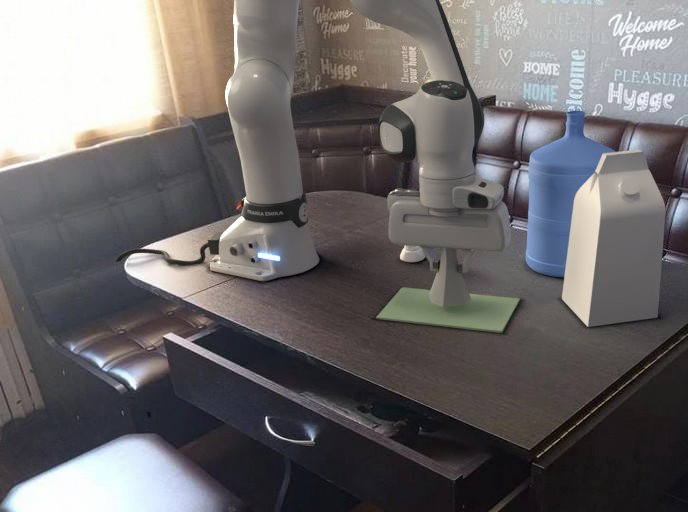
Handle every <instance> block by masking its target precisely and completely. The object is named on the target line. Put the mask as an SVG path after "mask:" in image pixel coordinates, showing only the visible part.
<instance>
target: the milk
mask: <svg viewBox="0 0 688 512" xmlns="http://www.w3.org/2000/svg"><path fill="white" fill-rule="evenodd" d="M665 224H666V203H665V201H664V197H663V195H662V194H661V192H660V189H659V187H658V185H657V182H656V181H655V179H654V177H653V174H652V173H651V170H650V169H649V165H648V162H647V159H646V156H645V154H644V151H643V150H641V149H633V150H632V149H631V150H623V151H615V152H612V153H603V154H602V157H601V159H600V161H599V164H598V166H597V168H596V170H595V173H594V174H593V175H592V176H591V177H590V178H589V179H588V180H587V181H586V182H585V183H584V184H583V185H582V187H581V188H580V189H579V190H578V192H577V193H576V195H575V198H574V205H573V213H572V221H571V229H570V237H569V245H568V253H567V261H566V269H565V277H564V278H563V285H562V294H561V300H562V301H563V302H564V303H565V304H566V305H567V306H568V307H569V309H570V310H571V311H572V312H573V313H574V314H575V315H576V316H577V317H578V318H579V319H580V321H581V322H582V323H583V324H585V326H586V327H587V328H592V327H598V326H605V325H612V324H620V323H627V322H634V321H642V320H649V319H656V318H658V317H659V305H660V292H661V277H662V266H663V265H662V264H663V263H662V262H663V254H664V253H663V252H664V251H663V250H664V240H665V239H664V238H665Z"/></svg>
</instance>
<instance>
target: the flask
mask: <svg viewBox="0 0 688 512" xmlns="http://www.w3.org/2000/svg"><path fill="white" fill-rule="evenodd" d="M439 250H440V257H439V258H440V264H439V271H436V274H435V277H434V280H433V283H432V285H431V288H430V290H431V291H430V294H429V298H430V301H431V303H434V304H436V305H439V306H441V307H450V306H459V305H462V304H464V303H466V302H468V301H470V300H471V297H470V295H469V294H470V292H469V290H468V287H467V285H466V282H465V280H464V277H463V275H462V274H463V273H458V272H457V269H458V268H457V263H458V262H459V260H458V255H457V254H458V252H457V251H458V249H456V248H442V247H439Z"/></svg>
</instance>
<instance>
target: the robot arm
mask: <svg viewBox="0 0 688 512" xmlns="http://www.w3.org/2000/svg"><path fill="white" fill-rule="evenodd" d="M349 2H350V4H351V6H352V8H354V9H355V10H356V11H357V12H358V13H359V14H360V15H362V16H363V17H364V18H366V19H368V20H370V21H372V22H374V23H376V24H379V25H385V26H387V27H389V28H394V29H396V30H398V31H400V32H403V33H405V34H406V35H408V36H410V37H411V38H412V40H414V41H415V42H416V44H418V46H419V48H420V50H421V52H422V55H423V57H424V61H425V63H426V66H427V69H428V71H429V75H430V77H431V80H430V81H428V82H425V83H424V84H422V85H420V86H419V88H418V90H417V92H416V93H414V94H412V95H411V96H409V97H407V98H404V99H401V100H399V101H396V102H395V101H394V102H393V103H391V104H388V105H386V107H385V108H384V109H383V111H382V113H381V115H380V117H379V121H378V125H377V126H378V128H377V132H378V133H377V134H378V141H379V144H380V148H381V150H382V151H383V152H384V153H385V155H387V156H388V158H390V159H391V160H393V161H394V162H397V163H411V162H415V163H416V164H418V166H419V169H418V182H419V185H418V186H419V188H404V187H403V188H402V187H396V188H395V189H394V190H392V191H390V192H389V193H388V195H387V197H386V201H387V202H386V203H387V209H388V212H389V217H388V239H389V241H390V242H391V243H392V245H399V246H405V245H413V246H420V247H422V249H423V253H424V254H425V258H426V259H427V261H428V262H429V271H431V272H437V271H439V264H440V257H437V256H436V254H435V252H434V251H433V250H434V248H440V247H442V248H456V249H457V250H458V249H459V250H462V255H464V256H465V257H464V259H459V260H458V263H457V268H458V269H457V272H458V273H461V274H467V273H468V272H469V261H470V259H471V258H472V256H473V254H474V252H476V251H486V252H487V251H488V252H503V251H504V250H505V249H506V248H507V247H508V246H509V244H510V242H511V220H510V213H509V210H508V206H507V205H506V203H505V202H504V201H503V198H504V194H505V189H504V188H505V187H504V186H503V185H502V184H500V183H498V182H495V181H492V180H489V179H487V178H484V177H481V176H479V175H476V174H475V173H476V171H475V169H476V168H475V164H474V160H473V151H474V148H475V146H476V145H477V143H478V141H479V140H480V138H481V136H482V135H483V131H484V128H485V113H484V109H483V107H482V104H481V102H480V100H479V98H478V97H477V95H476V93H475V91H474V89H473V87H472V85H471V83H470V80H469V78H468V74H467V71H466V69H465V67H464V64H463V61H462V57H461V55H460V52H459V49H458V47H457V43H456V41H455V37H454V35H453V32H452V29H451V26H450V24H449V21H448V18H447V15H446V13H445V10H444V8H443V6H442V3H441V1H440V0H349ZM299 7H300V0H233V18H232V19H233V28H234V29H233V30H234V71H233V73H232V75H231V76H230V78H229V79H228V82H227V85H226V88H225V101H226V102H225V103H226V106H227V110H228V115H229V120H230V124H231V128H232V132H233V133H232V134H233V136H234V140H235V144H236V147H237V151H238V155H239V159H240V164H241V165H240V166H241V171H242V177H243V183H244V190H245V195H246V196H245V197H244V198H242V199H241V200H240V201H239V202H237V203H236V204H235V206H237V207H236V208H235V210H237V211H239V210H240V209H242V210H241V215H240V217H238V218H237V219H236V220H235V221H234V222H233V223H232V224H231V225H230V226H229V227H228V228H227V229H226V230H224V231H216V232H215V233H213V235H211V236H210V237H209V238H208V239H207V242H205V243H204V244H202V245H201V247H200V248H199V254H200V257H198V258H197V259H195V260H181V259H173V258H171V257H170V254H169V253H168V252H167V251H166V250H162V249H154V248H153V249H152V248H132V249H128V250H126V251H124V252H122V253H120V254H119V255H118V256H117V257H116V258H115V260H114V261H115V263H118V262H121V261H122V260H123V259H124V258H126V257H128V256H131V255H135V254H152V255H158V256H159V255H160V256H163V257H164V259H165V261H166V262H167V263H169V264H172V265H178V266H193V265H198V264H202V263H203V262H204V261H205V260H206V258H207V257H206V250H207V249H208V250H209V255H211V256H214V257H213V258H212V259H211V261H210V262H209V270H210V271H211V272H217V273H221V274H226V275H231V276H236V277H241V278H245V279H250V280H255V281H259V282H269V281H272V280H274V279H278V278H281V277H288V276H295V275H297V274H302V273H304V272H308V271H309V270H311V269H313V268H315V267H317V265H318V264H319V262H320V257H319V255H318V253H317V250H316V247H315V244H314V241H313V238H312V234H311V230H310V225H309V209H308V202H307V201H308V200H307V195H306V192H305V191H304V189H303V188H304V187H303V180H302V170H301V162H300V153H299V149H298V144H297V139H296V134H295V128H294V121H293V115H292V108H291V100H292V97H293V93H294V83H295V72H296V71H295V70H296V69H295V68H296V53H297V37H298V36H297V34H298V21H299V20H298V18H299ZM145 413H146V417H147V418H148V419H150V418H152V412H151V411H146V412H145Z"/></svg>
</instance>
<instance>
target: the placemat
mask: <svg viewBox="0 0 688 512" xmlns="http://www.w3.org/2000/svg"><path fill="white" fill-rule="evenodd" d="M430 291H431V289H426V288H425V289H424V288H415V287H414V288H413V287H405V286H404V287H403V286H402V287H401V288H400V289H399V290H398V292H396V293H395V294H394V296H393V297H392V298H391V299H390V301H388V303H387V304H386V305H385V306H384V308H383V309H382V310H381V311H380V312H379V313H378V314H377V316H376V317H375V319H376V320H381V321H391V322H400V323H409V324H418V325H424V326H425V325H426V326H436V327H443V328H452V329H453V328H454V329H462V330H471V331H480V332H487V333H488V332H489V333H498V334H503V332H504V331H505V328H506V326H507V325H508V324H509V321H510V320H511V317H512V315H513V313H514V312H515V310H516V308H517V306H518V304H519V303H520V301H521V299H520V298H519V297H507V296H498V295H489V294H488V295H487V294H477V293H469V295H470V297H471V300H470V301H468V302H466V303H464V304H462V305H459V306H450V307H441V306H439V305H436V304H434V303H431V301H430V298H429V294H430Z"/></svg>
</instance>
